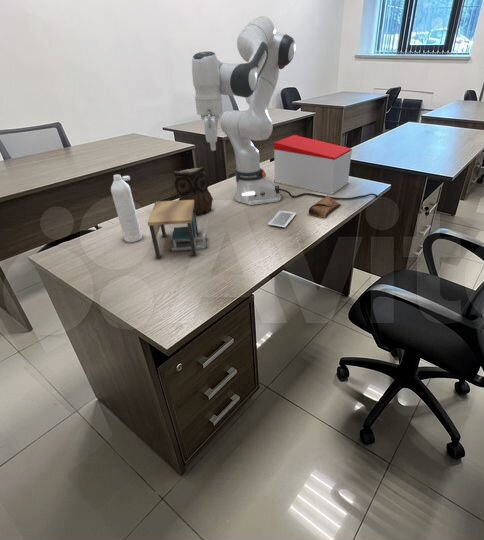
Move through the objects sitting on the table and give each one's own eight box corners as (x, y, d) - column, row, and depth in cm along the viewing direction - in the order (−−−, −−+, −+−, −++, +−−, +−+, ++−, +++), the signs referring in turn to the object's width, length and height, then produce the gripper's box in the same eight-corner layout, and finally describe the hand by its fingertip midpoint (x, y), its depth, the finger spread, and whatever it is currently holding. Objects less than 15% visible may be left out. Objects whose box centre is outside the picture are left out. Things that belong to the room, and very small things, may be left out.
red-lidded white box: (292, 171, 203) (293, 134, 191) (347, 182, 187) (352, 143, 175) (273, 181, 188) (273, 142, 176) (331, 194, 172) (335, 152, 161)
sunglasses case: (325, 217, 148) (319, 203, 146) (312, 222, 153) (306, 208, 151) (341, 203, 161) (336, 190, 159) (329, 208, 165) (324, 195, 164)
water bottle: (120, 240, 132) (102, 176, 118) (133, 233, 136) (117, 171, 123) (137, 245, 128) (120, 180, 115) (150, 237, 133) (135, 174, 120)
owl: (215, 209, 156) (210, 165, 145) (199, 220, 146) (192, 174, 135) (192, 205, 160) (185, 162, 149) (175, 215, 151) (166, 170, 140)
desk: (198, 233, 137) (194, 199, 129) (196, 256, 122) (190, 219, 114) (162, 235, 135) (155, 201, 127) (156, 259, 120) (147, 222, 112)
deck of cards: (296, 215, 151) (296, 210, 150) (285, 229, 140) (285, 224, 138) (279, 212, 154) (279, 208, 152) (267, 226, 142) (267, 221, 141)
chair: (206, 238, 133) (203, 211, 127) (206, 248, 126) (202, 220, 120) (173, 241, 131) (168, 213, 125) (171, 251, 125) (166, 222, 118)
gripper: (218, 112, 109) (222, 157, 116) (218, 103, 126) (222, 142, 133) (198, 113, 108) (203, 157, 115) (201, 104, 125) (205, 143, 132)
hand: (213, 149), depth 124 cm, fingers closed
